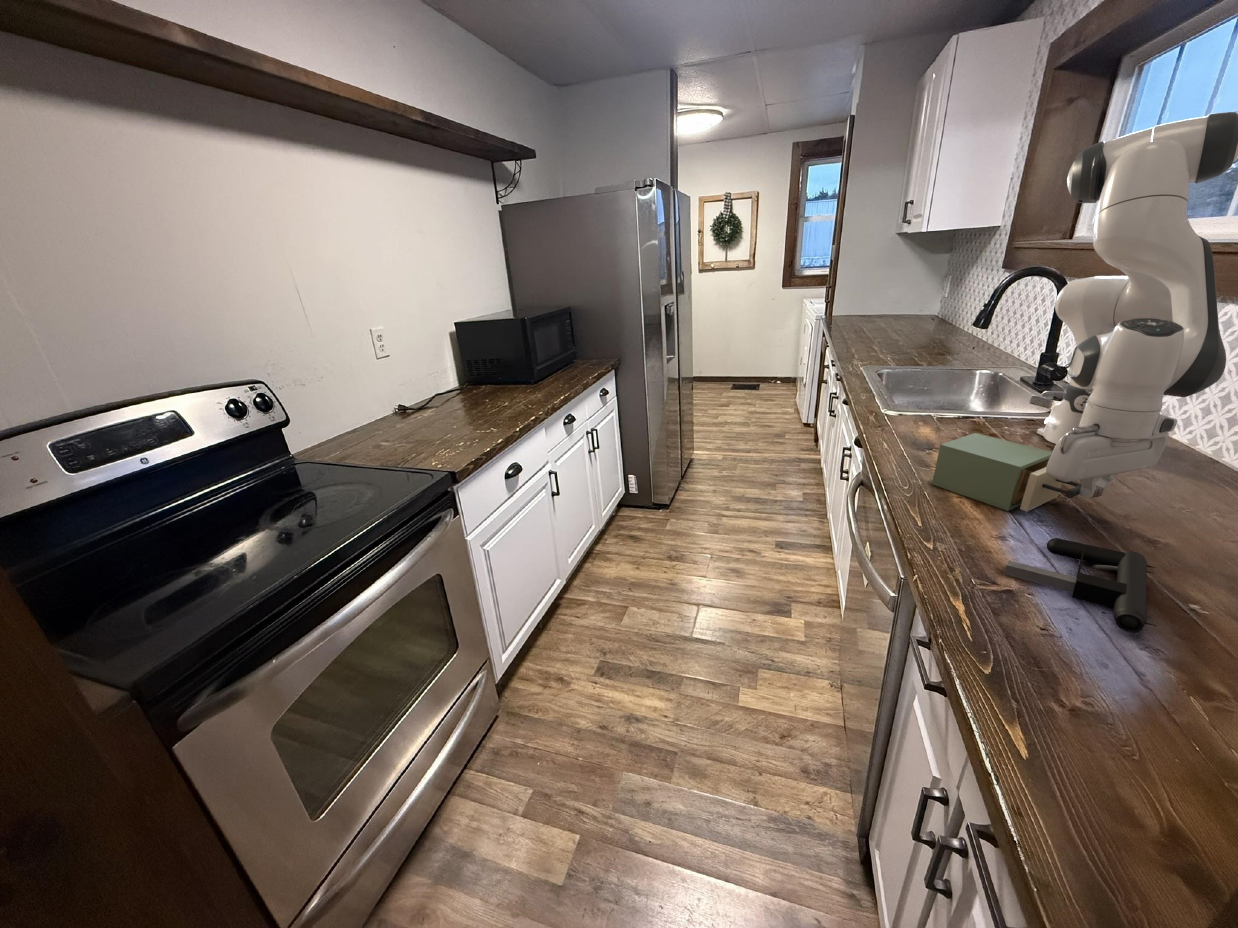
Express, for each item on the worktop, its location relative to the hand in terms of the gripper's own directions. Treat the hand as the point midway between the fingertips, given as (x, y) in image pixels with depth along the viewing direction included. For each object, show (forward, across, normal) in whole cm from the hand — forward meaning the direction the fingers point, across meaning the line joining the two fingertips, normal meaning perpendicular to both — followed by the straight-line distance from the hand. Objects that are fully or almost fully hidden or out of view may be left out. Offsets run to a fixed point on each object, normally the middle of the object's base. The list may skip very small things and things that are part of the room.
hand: (1090, 496), depth 88 cm
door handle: (+5, -19, -13) cm, 24 cm away
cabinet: (+5, -4, +16) cm, 17 cm away
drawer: (+4, -3, +10) cm, 11 cm away
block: (+3, -3, +12) cm, 12 cm away
